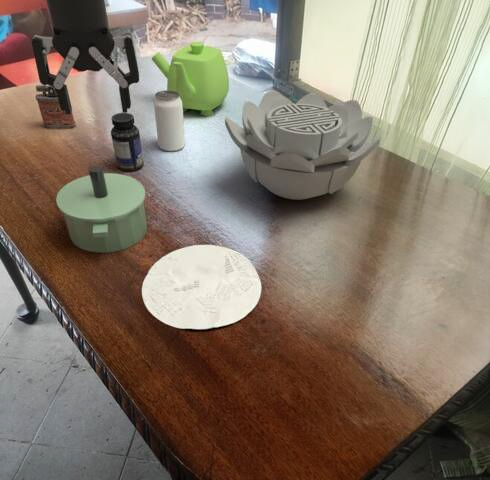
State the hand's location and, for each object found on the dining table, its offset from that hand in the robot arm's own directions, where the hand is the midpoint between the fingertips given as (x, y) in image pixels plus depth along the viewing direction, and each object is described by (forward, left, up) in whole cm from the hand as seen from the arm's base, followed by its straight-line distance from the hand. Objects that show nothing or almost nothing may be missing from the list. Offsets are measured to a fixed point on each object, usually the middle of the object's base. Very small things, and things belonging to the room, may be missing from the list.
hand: (97, 111), depth 71 cm
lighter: (-16, +48, -22) cm, 55 cm away
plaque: (+14, -19, -22) cm, 32 cm away
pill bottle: (+2, +25, -22) cm, 34 cm away
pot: (-2, 0, -22) cm, 22 cm away
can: (+12, +34, -22) cm, 42 cm away
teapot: (+18, +58, -22) cm, 65 cm away
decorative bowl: (+38, +13, -22) cm, 46 cm away
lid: (-2, 0, -15) cm, 15 cm away
